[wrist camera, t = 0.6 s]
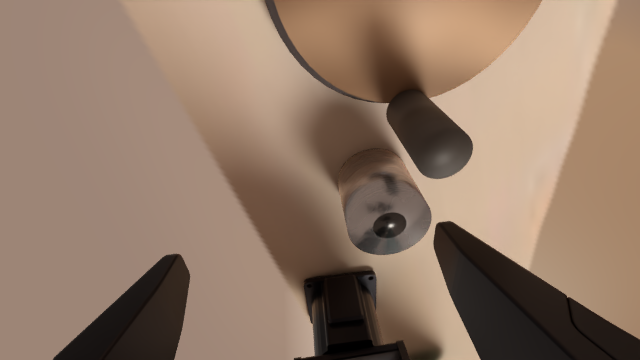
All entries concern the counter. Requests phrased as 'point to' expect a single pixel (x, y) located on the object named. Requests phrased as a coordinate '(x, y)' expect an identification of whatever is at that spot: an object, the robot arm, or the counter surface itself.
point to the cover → (382, 203)
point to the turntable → (407, 59)
